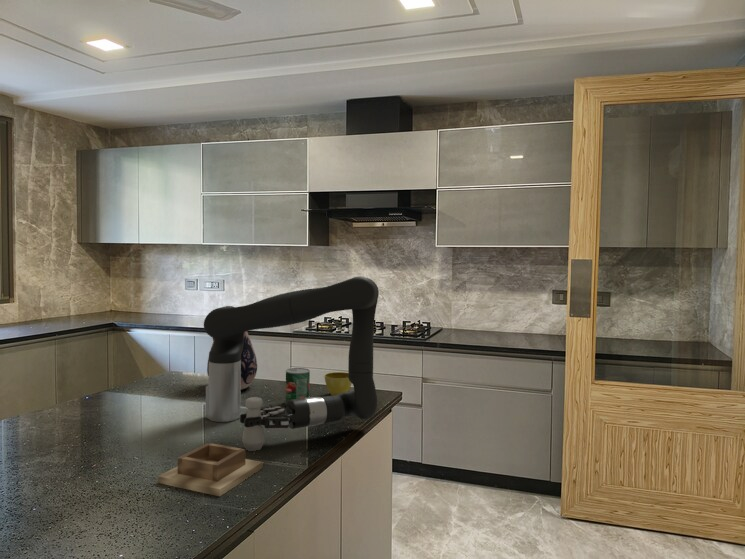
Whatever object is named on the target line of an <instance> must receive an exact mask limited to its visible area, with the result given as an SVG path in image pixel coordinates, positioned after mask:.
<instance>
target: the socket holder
mask: <svg viewBox="0 0 745 559" xmlns="http://www.w3.org/2000/svg"><path fill="white" fill-rule="evenodd" d="M246 452H247V450H246V448H239V447H235V446H230V445H229V446H228V445H223V444H217V443H212V442H207V443H204V444H203V445H201V446H198V447H197V448H195V449H192V450H191V451H189V452H186V453H185V454H183V455H180V456H178V457H177V466H175V467H173V468H171V469H169V470H168V471H166V472H164V473H162V474H159V475H158V476H157V483H158V484H161V485H166V486H169V487H170V486H171V487H175V488H180V489H184V490H189V491H192V492H198V493H202V494H207V495H212V496H217V497H221V496H223V495H224V494H225V493H228V492H229V491H231V490H232V489H234V488H235V487H237V486H238V485H240V484H241V483H243V482H244V481H246V480H247V479H249V478H250V477H252V476H253V475H255V474H256V473H258V472H259V471H261V470H262V469H263V466H264V465H263V464H264V463H263V462H264V461H259V460H253V459H247V458H246V456H247V455H246ZM260 469H261V470H260ZM254 473H255V474H254ZM248 477H249V478H248ZM245 479H246V480H245Z"/></svg>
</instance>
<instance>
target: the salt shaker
mask: <svg viewBox="0 0 745 559" xmlns="http://www.w3.org/2000/svg"><path fill="white" fill-rule="evenodd" d="M263 404H264V403H263V398H261V397H258V396H251V397H248V398H247V399H245V407H246V409H247V411H246V413H247V415H246V418H249V417H258V416H259V418H260V416H261V410H260V408H261V407H264V406H263ZM243 427H244V428H243V432H242V437H241V440H242V441H241V442H242V445H243V446H244V449H246V451H247V450H248V451H247V452H257V451H256V450H258V451H261V450H262V447H263V446H264V444H265V442H266V435H265V427H264V426H263V427H261V426H260V425H259V426H258V425H256V426H253V427H245V426H244V425H243Z"/></svg>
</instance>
